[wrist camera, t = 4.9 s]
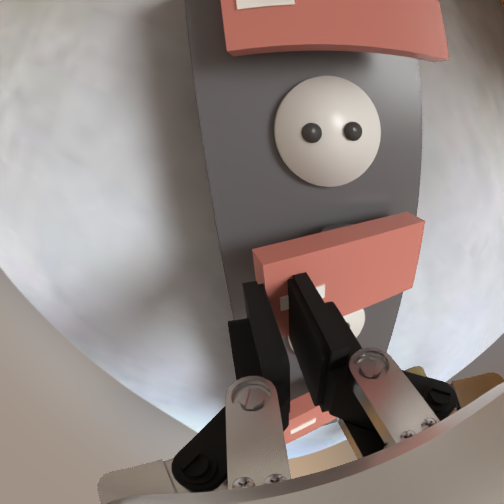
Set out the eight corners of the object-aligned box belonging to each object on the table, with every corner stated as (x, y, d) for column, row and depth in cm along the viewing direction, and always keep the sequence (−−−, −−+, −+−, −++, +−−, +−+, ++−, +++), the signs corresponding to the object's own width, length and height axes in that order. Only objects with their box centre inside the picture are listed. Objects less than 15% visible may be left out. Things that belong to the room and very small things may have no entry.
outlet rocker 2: (245, 240, 11) (263, 266, 9) (396, 205, 13) (425, 221, 11) (255, 311, 13) (271, 342, 11) (388, 268, 14) (412, 288, 13)
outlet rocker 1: (227, -16, 7) (216, -35, 6) (412, -10, 6) (432, -24, 4) (236, 59, 9) (226, 50, 7) (425, 63, 8) (449, 59, 6)
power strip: (180, -71, 6) (177, -104, 3) (357, -62, 7) (385, -83, 4) (255, 414, 24) (261, 443, 21) (353, 389, 25) (365, 415, 22)
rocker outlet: (267, 399, 16) (282, 424, 14) (365, 349, 18) (383, 367, 16) (270, 423, 17) (283, 445, 16) (357, 378, 20) (373, 395, 18)
